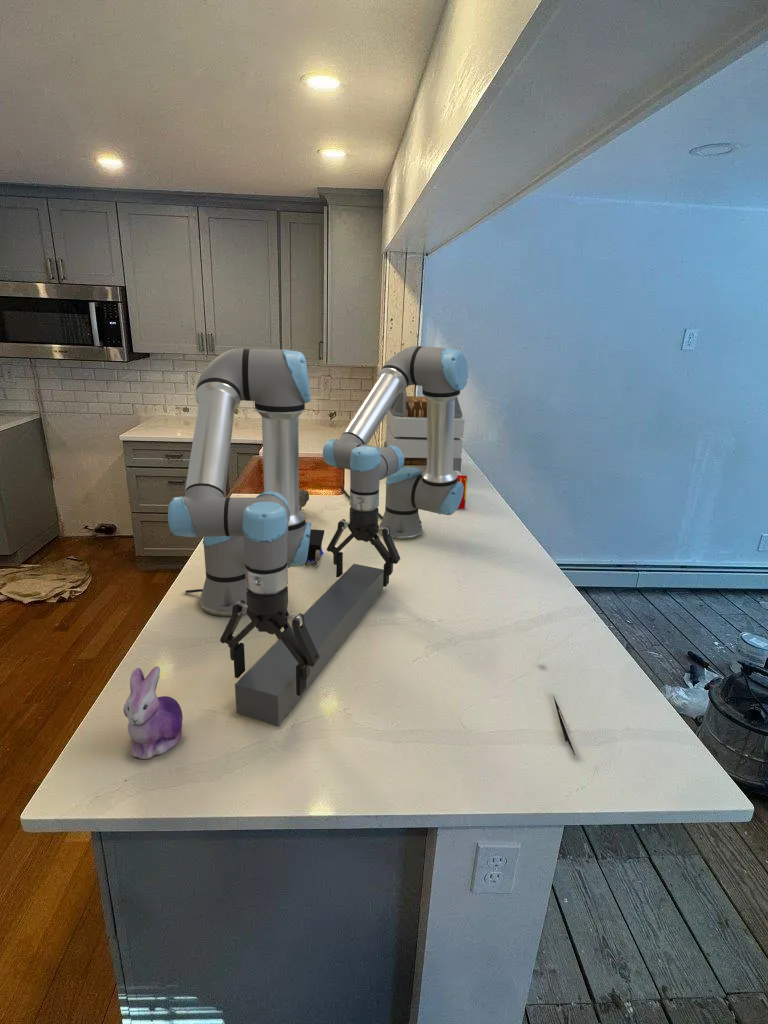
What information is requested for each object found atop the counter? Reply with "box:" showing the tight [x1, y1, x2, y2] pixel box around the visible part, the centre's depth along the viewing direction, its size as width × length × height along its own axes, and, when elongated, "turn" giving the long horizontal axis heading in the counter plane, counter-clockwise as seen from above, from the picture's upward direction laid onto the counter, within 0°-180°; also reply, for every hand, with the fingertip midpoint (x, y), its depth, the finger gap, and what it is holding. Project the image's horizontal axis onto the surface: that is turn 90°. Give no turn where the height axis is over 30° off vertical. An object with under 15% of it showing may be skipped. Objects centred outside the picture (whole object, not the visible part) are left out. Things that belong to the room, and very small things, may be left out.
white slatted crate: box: [383, 389, 465, 474], centre depth 268 cm, size 34×33×41 cm
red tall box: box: [455, 471, 468, 510], centre depth 238 cm, size 12×13×30 cm
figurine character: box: [304, 528, 326, 567], centre depth 176 cm, size 7×8×15 cm
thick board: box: [234, 563, 385, 727], centre depth 133 cm, size 59×9×7 cm, turn 161°
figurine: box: [122, 665, 183, 760], centre depth 99 cm, size 9×10×15 cm
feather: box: [552, 695, 579, 756], centre depth 115 cm, size 2×28×2 cm
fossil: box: [299, 488, 310, 511], centre depth 210 cm, size 22×10×15 cm
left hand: (270, 682), depth 111 cm, fingers open, 13 cm apart
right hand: (362, 580), depth 154 cm, fingers open, 13 cm apart
